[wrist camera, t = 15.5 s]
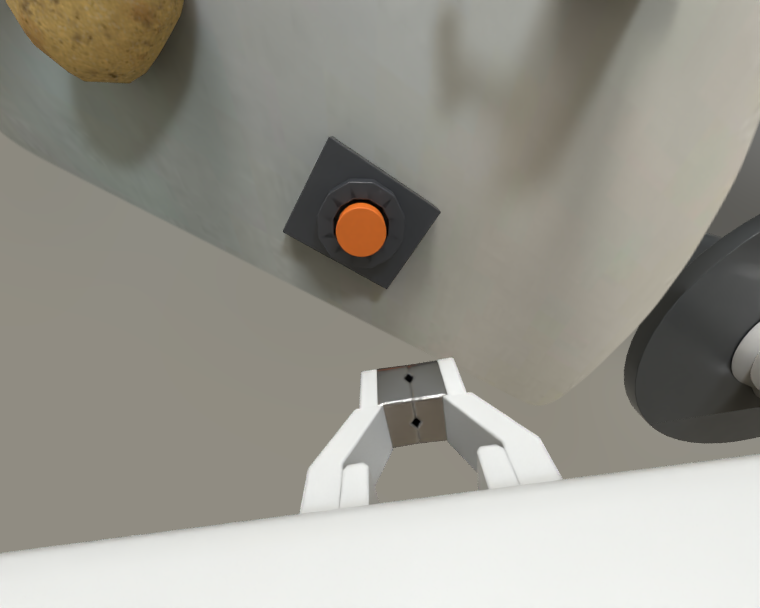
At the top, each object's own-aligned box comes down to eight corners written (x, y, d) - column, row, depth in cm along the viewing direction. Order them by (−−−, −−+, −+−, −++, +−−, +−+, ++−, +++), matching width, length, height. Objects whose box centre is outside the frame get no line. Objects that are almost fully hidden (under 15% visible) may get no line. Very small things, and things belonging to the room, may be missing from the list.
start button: (394, 219, 24) (396, 225, 22) (369, 257, 25) (369, 265, 24) (352, 192, 23) (351, 197, 21) (329, 234, 24) (326, 241, 23)
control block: (435, 206, 27) (446, 217, 24) (385, 279, 30) (388, 299, 27) (331, 136, 24) (326, 136, 21) (287, 224, 27) (276, 238, 24)
